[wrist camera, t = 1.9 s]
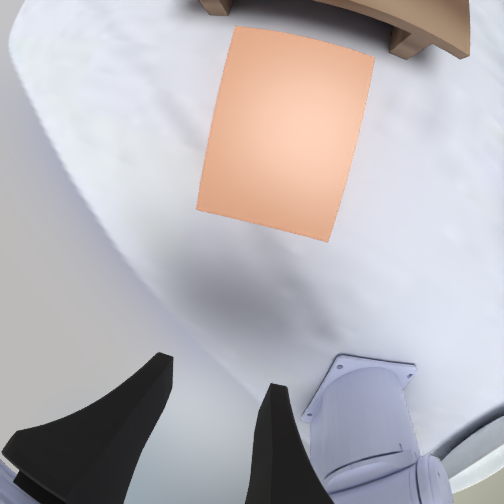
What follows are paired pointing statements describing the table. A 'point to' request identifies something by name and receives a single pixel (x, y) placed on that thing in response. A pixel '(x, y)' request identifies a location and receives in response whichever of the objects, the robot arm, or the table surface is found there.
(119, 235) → the table surface
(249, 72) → the peach block
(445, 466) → the serving bowl
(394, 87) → the table surface
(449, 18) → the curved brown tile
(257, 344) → the table surface
